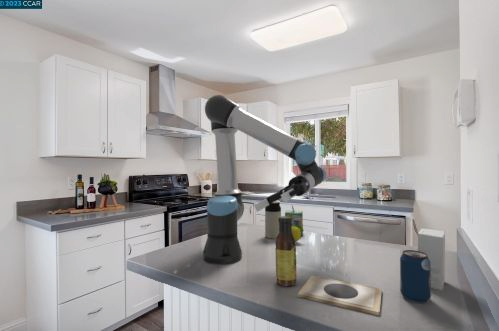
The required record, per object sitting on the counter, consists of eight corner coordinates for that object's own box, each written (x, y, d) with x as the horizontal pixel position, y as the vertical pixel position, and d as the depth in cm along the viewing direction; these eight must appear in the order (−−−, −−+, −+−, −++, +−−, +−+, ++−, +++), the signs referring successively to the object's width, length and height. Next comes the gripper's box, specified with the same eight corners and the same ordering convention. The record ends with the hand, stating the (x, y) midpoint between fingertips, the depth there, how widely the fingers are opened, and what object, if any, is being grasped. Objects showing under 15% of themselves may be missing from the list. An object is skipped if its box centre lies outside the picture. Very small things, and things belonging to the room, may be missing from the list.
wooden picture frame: (297, 296, 74) (297, 292, 74) (311, 278, 86) (311, 274, 86) (379, 315, 64) (379, 311, 64) (381, 291, 76) (381, 288, 76)
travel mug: (276, 239, 131) (276, 202, 131) (262, 237, 136) (262, 201, 136) (283, 236, 138) (283, 200, 138) (269, 234, 142) (269, 199, 142)
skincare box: (420, 276, 87) (420, 227, 87) (446, 281, 83) (446, 230, 83) (416, 285, 81) (416, 232, 81) (444, 291, 76) (443, 236, 77)
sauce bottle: (299, 286, 80) (299, 219, 80) (279, 288, 79) (278, 219, 79) (292, 277, 86) (292, 215, 87) (273, 278, 85) (273, 215, 85)
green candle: (303, 236, 139) (302, 207, 139) (284, 235, 140) (284, 206, 140) (303, 231, 148) (303, 204, 148) (286, 231, 149) (286, 204, 150)
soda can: (437, 304, 70) (437, 257, 70) (411, 305, 69) (411, 257, 69) (418, 291, 76) (418, 249, 76) (394, 292, 76) (394, 249, 76)
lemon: (285, 243, 126) (285, 221, 126) (290, 240, 131) (290, 219, 131) (298, 245, 122) (298, 223, 122) (303, 242, 127) (303, 220, 127)
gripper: (331, 183, 99) (301, 204, 84) (282, 200, 116) (250, 220, 101) (322, 165, 99) (290, 182, 84) (275, 184, 117) (242, 202, 102)
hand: (268, 203), depth 93 cm, fingers open, 13 cm apart
